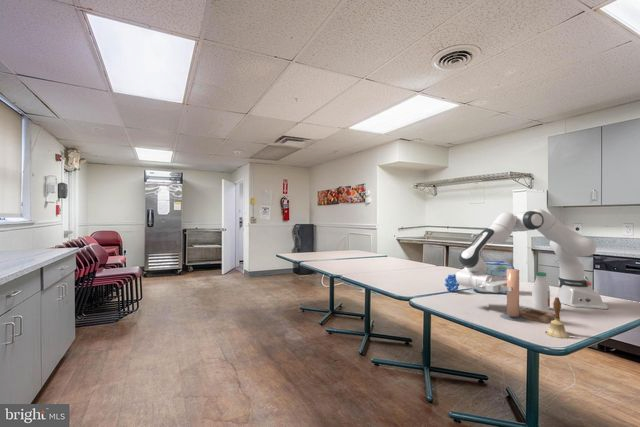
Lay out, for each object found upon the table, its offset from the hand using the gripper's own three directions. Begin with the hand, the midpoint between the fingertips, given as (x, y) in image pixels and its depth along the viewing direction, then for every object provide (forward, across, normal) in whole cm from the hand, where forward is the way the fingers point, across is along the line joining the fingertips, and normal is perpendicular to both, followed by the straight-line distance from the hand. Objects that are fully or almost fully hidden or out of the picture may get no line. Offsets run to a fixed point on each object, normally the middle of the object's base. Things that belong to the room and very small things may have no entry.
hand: (515, 288), depth 149 cm
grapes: (-48, +25, +16) cm, 56 cm away
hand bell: (+18, -4, +16) cm, 25 cm away
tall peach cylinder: (-1, 0, +13) cm, 13 cm away
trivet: (-1, 0, +16) cm, 16 cm away
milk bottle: (0, +30, +16) cm, 34 cm away
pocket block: (+5, +10, +16) cm, 19 cm away
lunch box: (-33, +45, +16) cm, 58 cm away
